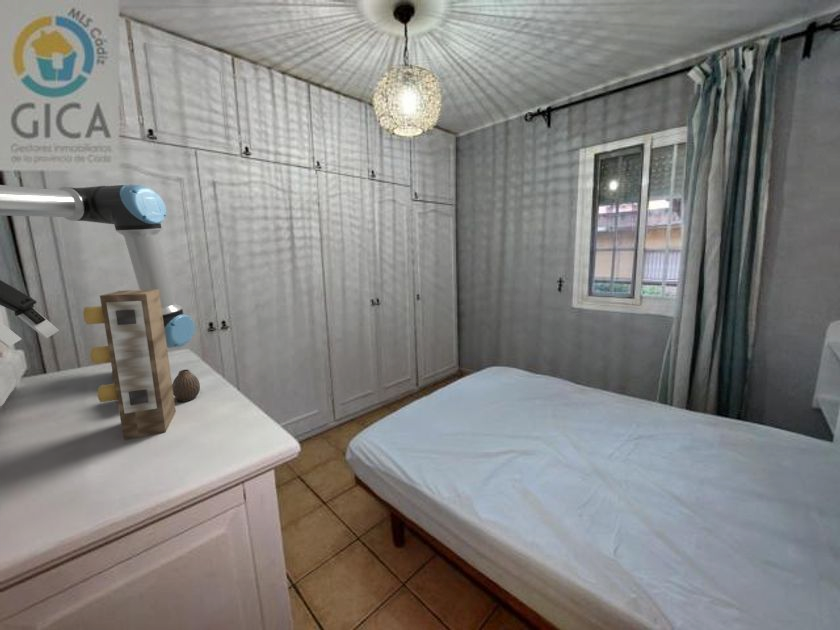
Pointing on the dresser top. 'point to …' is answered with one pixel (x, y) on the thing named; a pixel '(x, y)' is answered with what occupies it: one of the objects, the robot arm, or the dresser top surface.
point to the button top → (93, 315)
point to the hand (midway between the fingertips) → (33, 338)
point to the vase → (185, 386)
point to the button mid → (100, 355)
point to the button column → (139, 361)
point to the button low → (107, 393)
